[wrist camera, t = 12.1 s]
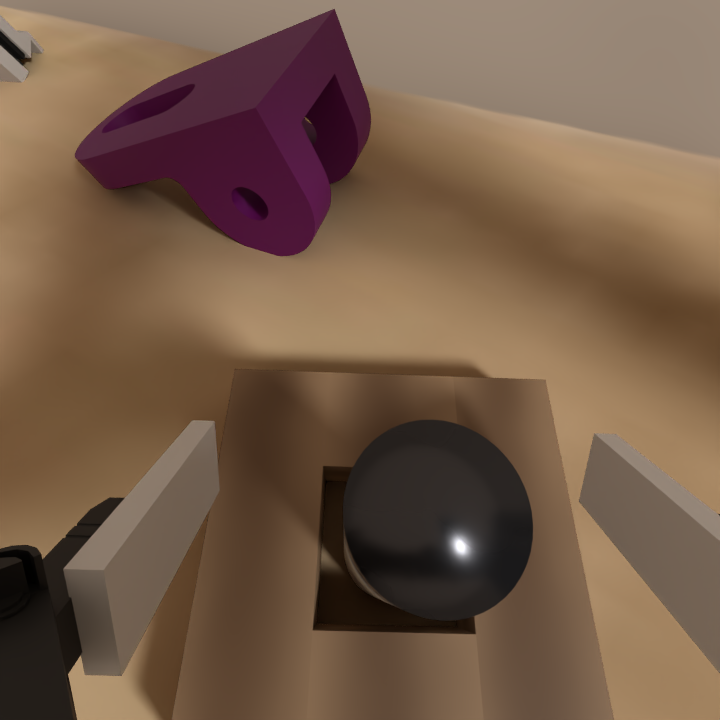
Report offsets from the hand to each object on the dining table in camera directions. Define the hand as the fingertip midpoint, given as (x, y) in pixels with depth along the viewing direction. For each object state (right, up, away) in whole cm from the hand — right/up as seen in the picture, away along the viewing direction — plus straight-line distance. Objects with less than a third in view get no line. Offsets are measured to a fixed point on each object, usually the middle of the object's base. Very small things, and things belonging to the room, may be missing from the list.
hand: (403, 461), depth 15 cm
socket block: (0, -5, +5) cm, 7 cm away
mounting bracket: (-12, +16, +16) cm, 26 cm away
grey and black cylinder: (0, -5, +5) cm, 7 cm away
